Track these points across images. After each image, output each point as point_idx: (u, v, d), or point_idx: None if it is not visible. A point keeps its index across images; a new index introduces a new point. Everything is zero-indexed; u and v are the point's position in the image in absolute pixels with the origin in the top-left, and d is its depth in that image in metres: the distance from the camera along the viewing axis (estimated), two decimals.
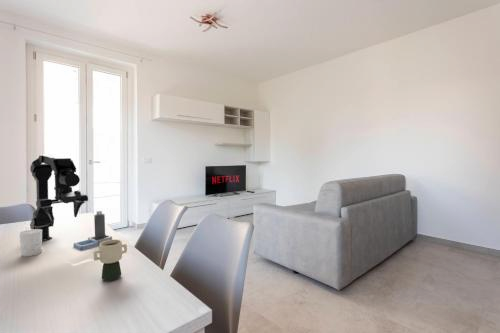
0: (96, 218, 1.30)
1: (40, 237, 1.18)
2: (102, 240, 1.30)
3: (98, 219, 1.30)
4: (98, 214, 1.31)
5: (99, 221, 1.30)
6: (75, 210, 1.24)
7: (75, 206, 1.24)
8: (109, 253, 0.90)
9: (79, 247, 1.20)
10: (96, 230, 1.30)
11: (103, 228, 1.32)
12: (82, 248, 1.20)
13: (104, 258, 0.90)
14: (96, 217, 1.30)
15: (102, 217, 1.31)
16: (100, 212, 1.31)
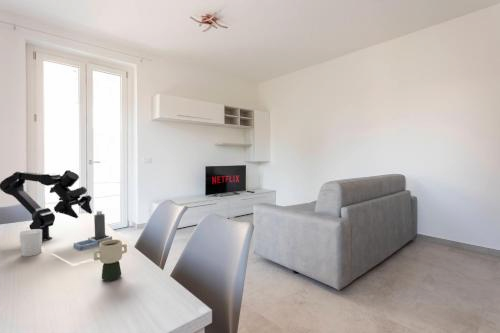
0: (96, 218, 1.30)
1: (40, 237, 1.18)
2: (102, 240, 1.30)
3: (98, 219, 1.30)
4: (98, 214, 1.31)
5: (99, 221, 1.30)
6: (87, 208, 1.38)
7: (85, 206, 1.38)
8: (109, 253, 0.90)
9: (79, 247, 1.20)
10: (96, 230, 1.30)
11: (103, 228, 1.32)
12: (82, 248, 1.20)
13: (104, 258, 0.90)
14: (96, 217, 1.30)
15: (102, 217, 1.31)
16: (100, 212, 1.31)
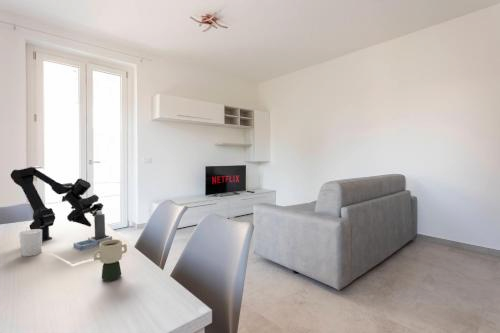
0: (96, 218, 1.30)
1: (40, 237, 1.18)
2: (102, 240, 1.30)
3: (98, 219, 1.30)
4: (98, 214, 1.31)
5: (99, 221, 1.30)
6: None
7: None
8: (108, 253, 0.90)
9: (79, 247, 1.20)
10: (96, 230, 1.30)
11: (103, 228, 1.32)
12: (82, 248, 1.20)
13: (104, 258, 0.90)
14: (96, 217, 1.30)
15: (102, 217, 1.31)
16: (100, 212, 1.31)
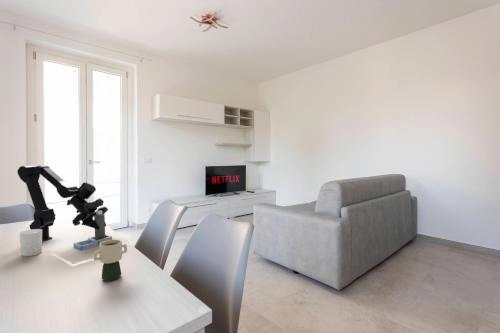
0: (96, 218, 1.30)
1: (40, 237, 1.18)
2: (102, 240, 1.30)
3: (98, 219, 1.30)
4: (98, 214, 1.31)
5: (99, 221, 1.30)
6: None
7: None
8: (109, 253, 0.90)
9: (79, 247, 1.20)
10: (96, 230, 1.30)
11: (103, 228, 1.32)
12: (82, 248, 1.20)
13: (104, 258, 0.90)
14: (96, 217, 1.30)
15: (102, 217, 1.31)
16: (100, 212, 1.31)
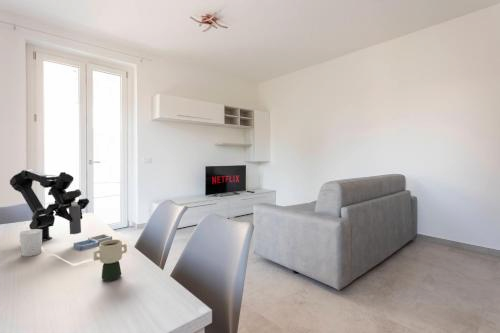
0: (70, 209, 1.25)
1: (40, 237, 1.18)
2: (102, 240, 1.30)
3: (72, 211, 1.24)
4: (72, 205, 1.25)
5: (73, 213, 1.25)
6: None
7: None
8: (108, 253, 0.90)
9: (79, 247, 1.20)
10: (70, 222, 1.25)
11: (77, 220, 1.26)
12: (82, 248, 1.20)
13: (104, 258, 0.90)
14: (70, 208, 1.25)
15: (76, 209, 1.25)
16: (74, 203, 1.26)
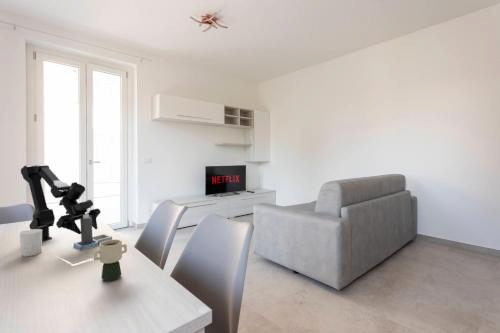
0: (81, 222, 1.22)
1: (40, 237, 1.18)
2: (102, 240, 1.30)
3: (83, 223, 1.22)
4: (84, 218, 1.23)
5: (84, 226, 1.22)
6: (93, 223, 1.28)
7: None
8: (109, 253, 0.90)
9: (79, 247, 1.20)
10: (82, 235, 1.22)
11: (89, 233, 1.23)
12: (82, 248, 1.20)
13: (104, 258, 0.90)
14: (81, 221, 1.22)
15: (88, 221, 1.23)
16: (86, 216, 1.23)
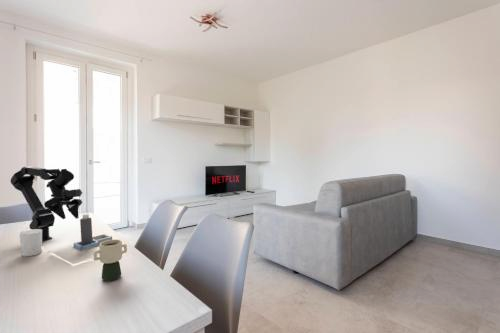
0: (81, 222, 1.22)
1: (40, 237, 1.18)
2: (102, 240, 1.30)
3: (83, 224, 1.22)
4: (83, 218, 1.23)
5: (84, 226, 1.22)
6: (75, 212, 1.33)
7: (73, 209, 1.33)
8: (109, 253, 0.90)
9: (79, 247, 1.20)
10: (81, 235, 1.22)
11: (89, 233, 1.23)
12: (82, 248, 1.20)
13: (104, 258, 0.90)
14: (81, 221, 1.22)
15: (87, 221, 1.22)
16: (86, 216, 1.23)
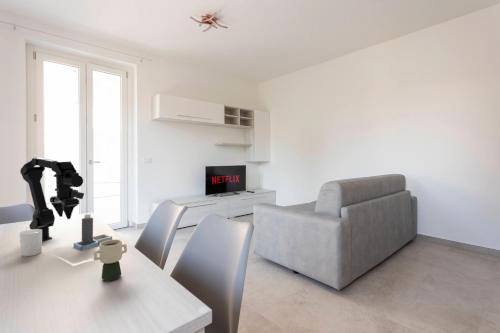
0: (82, 222, 1.22)
1: (40, 237, 1.18)
2: (102, 240, 1.30)
3: (85, 223, 1.22)
4: (85, 218, 1.23)
5: (85, 226, 1.22)
6: (61, 210, 1.32)
7: (59, 206, 1.32)
8: (109, 253, 0.90)
9: (79, 247, 1.20)
10: (82, 235, 1.22)
11: (90, 233, 1.23)
12: (82, 248, 1.20)
13: (104, 258, 0.90)
14: (83, 221, 1.22)
15: (89, 221, 1.23)
16: (87, 216, 1.23)
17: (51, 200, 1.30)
